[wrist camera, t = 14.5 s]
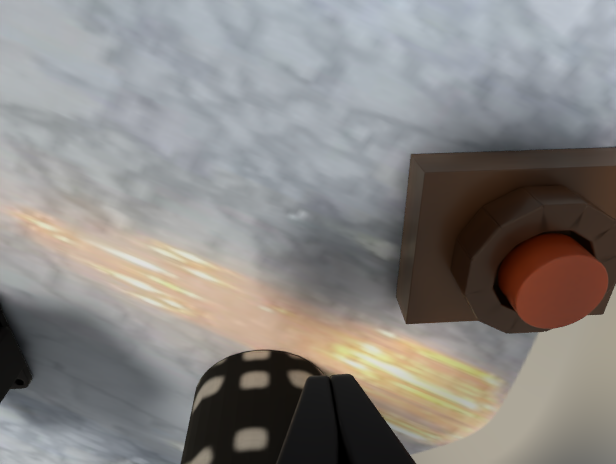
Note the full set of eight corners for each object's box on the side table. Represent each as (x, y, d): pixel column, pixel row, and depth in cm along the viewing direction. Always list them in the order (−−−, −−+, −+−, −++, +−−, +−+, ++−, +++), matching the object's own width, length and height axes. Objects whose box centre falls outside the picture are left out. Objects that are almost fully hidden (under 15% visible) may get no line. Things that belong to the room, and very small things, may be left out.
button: (489, 304, 20) (507, 331, 18) (506, 233, 18) (527, 257, 16) (568, 300, 20) (592, 327, 18) (593, 230, 18) (622, 253, 16)
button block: (395, 296, 24) (415, 351, 20) (410, 153, 20) (438, 191, 16) (577, 288, 24) (627, 340, 21) (628, 146, 20) (701, 181, 17)
